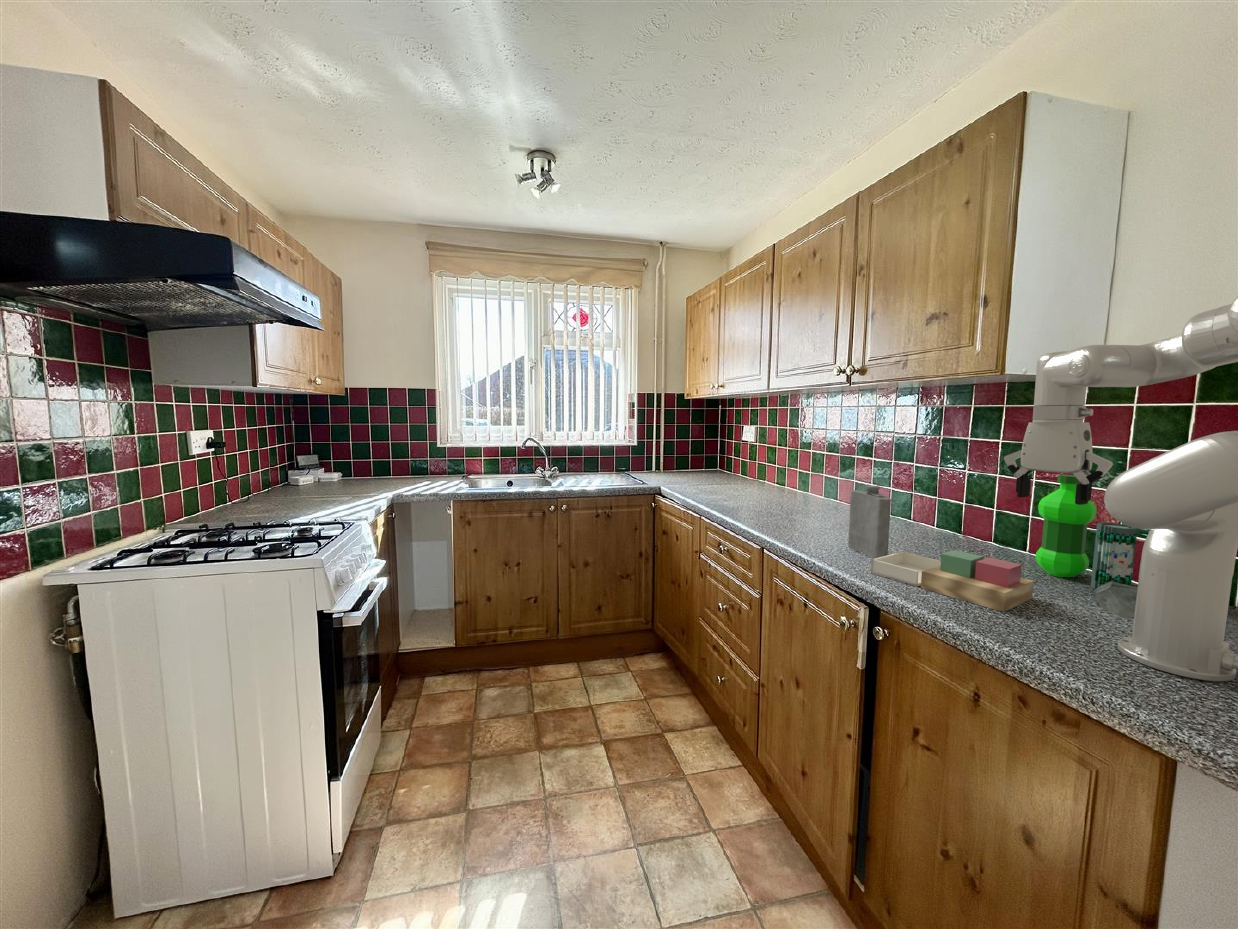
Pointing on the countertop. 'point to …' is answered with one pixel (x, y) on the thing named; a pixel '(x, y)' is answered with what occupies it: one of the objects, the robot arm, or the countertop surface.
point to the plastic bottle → (1064, 530)
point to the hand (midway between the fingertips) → (1050, 500)
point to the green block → (959, 563)
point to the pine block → (977, 589)
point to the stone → (1117, 598)
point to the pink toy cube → (998, 572)
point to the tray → (903, 567)
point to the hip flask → (869, 522)
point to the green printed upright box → (1113, 554)
